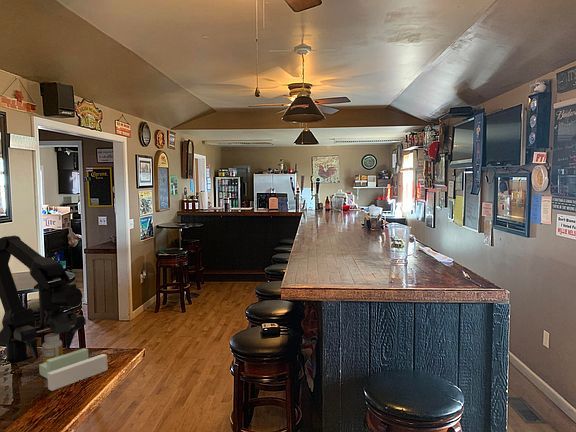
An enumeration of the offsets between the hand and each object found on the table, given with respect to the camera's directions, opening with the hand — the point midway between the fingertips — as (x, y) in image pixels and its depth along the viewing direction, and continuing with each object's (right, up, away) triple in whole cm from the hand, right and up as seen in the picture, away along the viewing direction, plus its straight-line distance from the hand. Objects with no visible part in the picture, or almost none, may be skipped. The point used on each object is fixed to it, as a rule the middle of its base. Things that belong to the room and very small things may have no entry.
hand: (52, 354), depth 130 cm
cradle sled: (+6, -4, -4) cm, 8 cm away
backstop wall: (+13, -4, -9) cm, 16 cm away
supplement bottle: (0, -4, 0) cm, 4 cm away
